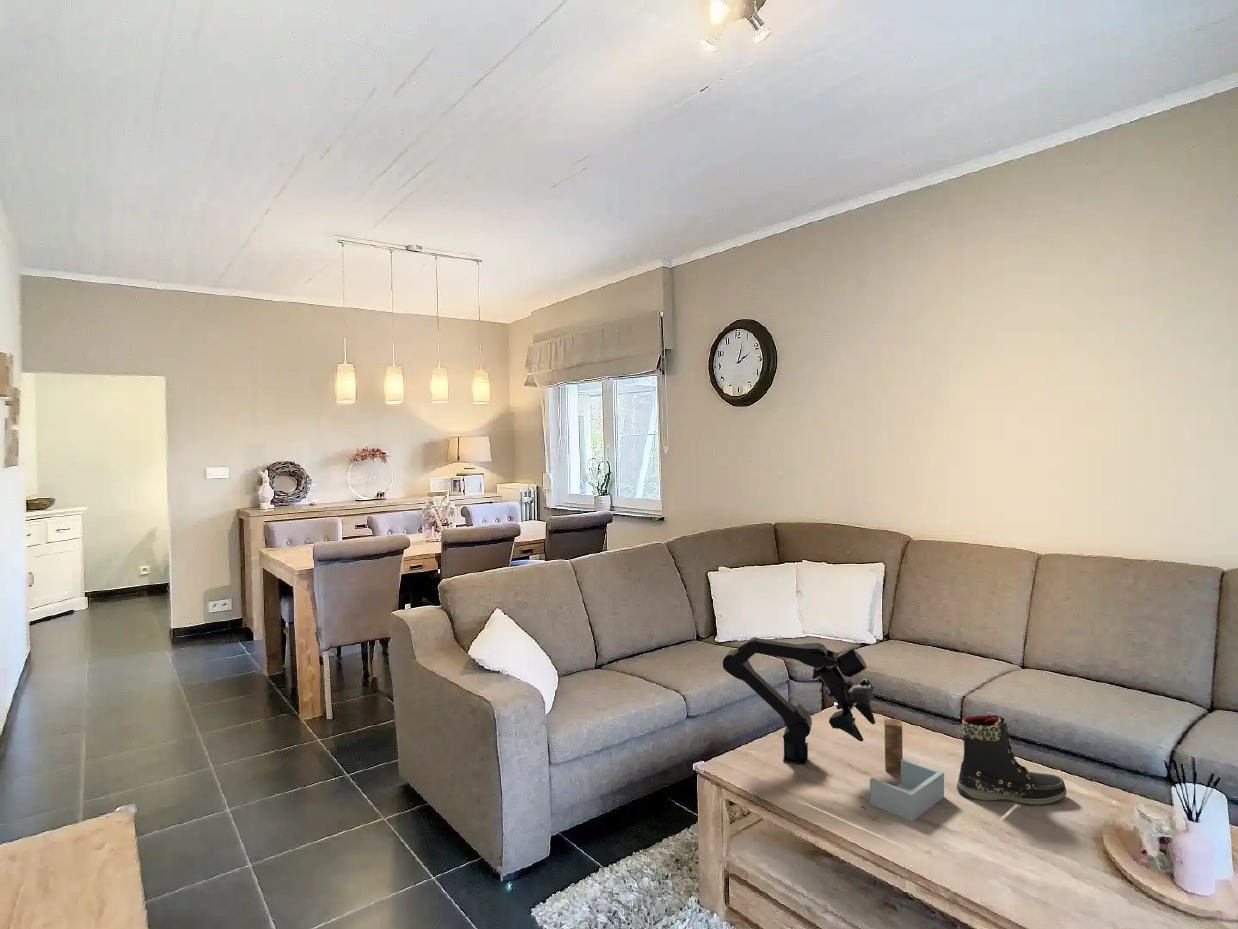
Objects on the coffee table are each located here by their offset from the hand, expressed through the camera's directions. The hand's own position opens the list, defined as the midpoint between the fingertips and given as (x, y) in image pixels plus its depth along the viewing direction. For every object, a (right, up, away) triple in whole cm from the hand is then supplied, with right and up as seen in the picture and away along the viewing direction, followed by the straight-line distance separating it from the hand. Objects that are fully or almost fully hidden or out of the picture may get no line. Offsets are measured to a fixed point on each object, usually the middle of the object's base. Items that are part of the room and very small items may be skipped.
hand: (868, 732), depth 199 cm
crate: (+3, -11, -18) cm, 22 cm away
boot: (+32, -11, -16) cm, 37 cm away
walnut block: (+7, -11, -1) cm, 13 cm away
